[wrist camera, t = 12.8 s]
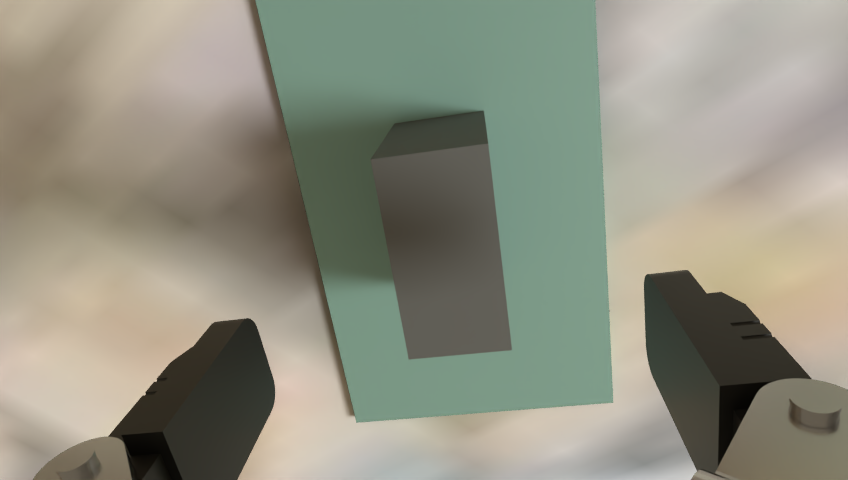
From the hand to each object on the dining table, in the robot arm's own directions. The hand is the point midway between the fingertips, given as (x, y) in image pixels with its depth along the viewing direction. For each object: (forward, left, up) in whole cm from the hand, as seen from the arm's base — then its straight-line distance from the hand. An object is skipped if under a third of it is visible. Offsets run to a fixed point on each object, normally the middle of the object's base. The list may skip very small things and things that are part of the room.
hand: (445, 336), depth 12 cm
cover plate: (0, 0, -10) cm, 10 cm away
